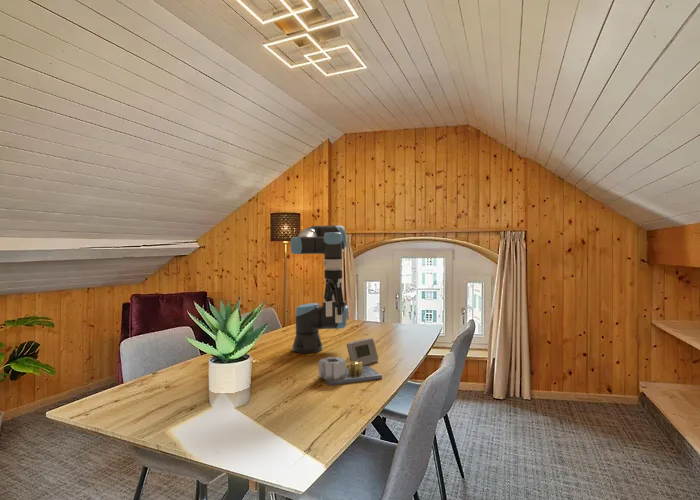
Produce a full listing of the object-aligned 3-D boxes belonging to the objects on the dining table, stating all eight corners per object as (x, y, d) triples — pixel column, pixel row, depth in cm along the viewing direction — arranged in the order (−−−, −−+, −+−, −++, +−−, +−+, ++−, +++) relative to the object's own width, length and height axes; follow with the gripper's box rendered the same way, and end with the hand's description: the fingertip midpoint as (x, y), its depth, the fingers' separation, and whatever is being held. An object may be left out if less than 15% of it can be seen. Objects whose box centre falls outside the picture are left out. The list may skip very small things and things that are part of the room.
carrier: (319, 375, 176) (318, 361, 176) (368, 369, 183) (368, 356, 183) (329, 385, 163) (328, 371, 162) (381, 378, 170) (381, 365, 170)
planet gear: (315, 373, 174) (315, 358, 174) (341, 370, 177) (340, 355, 177) (323, 381, 163) (323, 365, 163) (349, 377, 167) (349, 362, 167)
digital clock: (352, 369, 184) (352, 344, 183) (341, 364, 191) (341, 340, 191) (383, 363, 192) (382, 340, 192) (371, 359, 200) (371, 336, 200)
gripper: (316, 267, 189) (317, 314, 190) (333, 272, 166) (334, 326, 167) (332, 266, 192) (333, 313, 193) (351, 271, 168) (352, 324, 169)
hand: (333, 319), depth 180 cm, fingers open, 13 cm apart
